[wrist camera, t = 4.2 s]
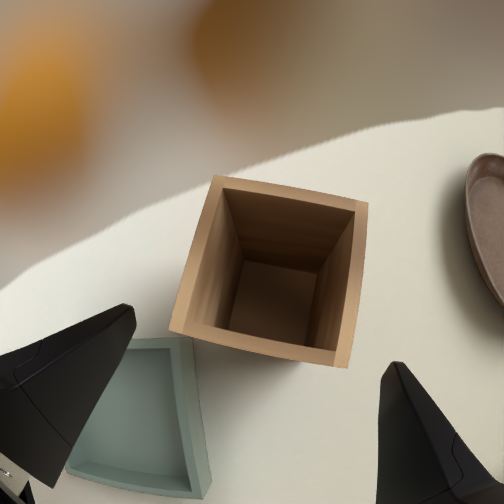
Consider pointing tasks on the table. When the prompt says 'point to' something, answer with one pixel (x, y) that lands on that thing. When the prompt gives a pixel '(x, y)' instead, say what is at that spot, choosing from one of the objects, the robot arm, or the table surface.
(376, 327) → the table surface
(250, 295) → the wooden pen holder
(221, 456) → the table surface
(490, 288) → the plant saucer
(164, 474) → the tray crate
